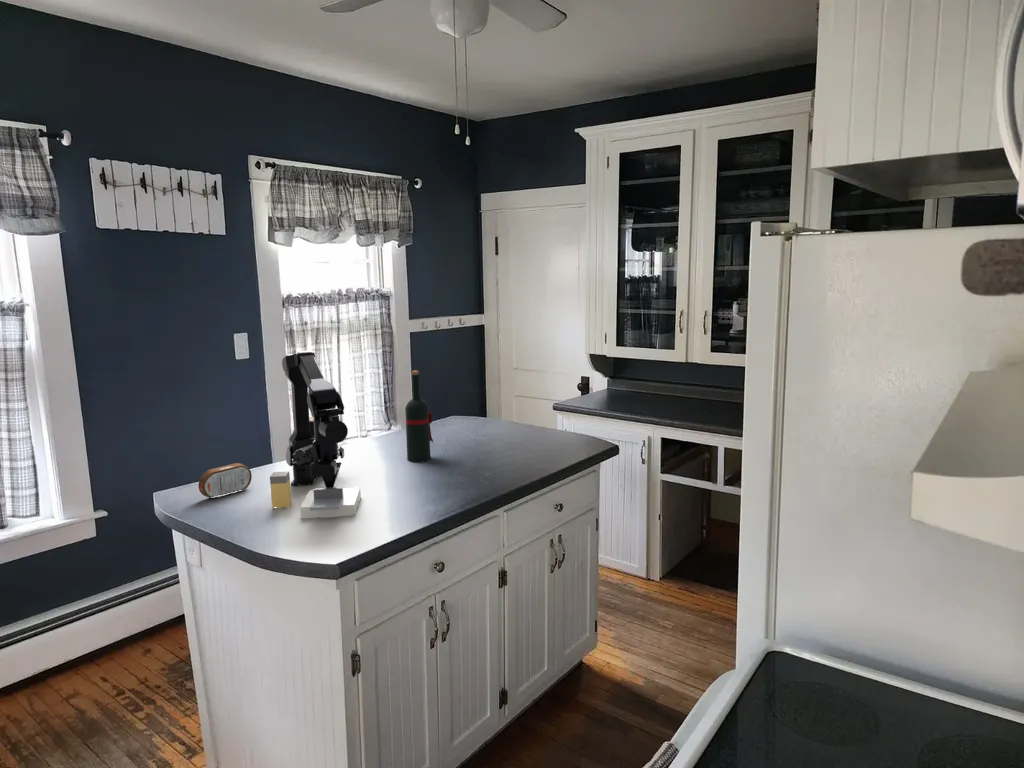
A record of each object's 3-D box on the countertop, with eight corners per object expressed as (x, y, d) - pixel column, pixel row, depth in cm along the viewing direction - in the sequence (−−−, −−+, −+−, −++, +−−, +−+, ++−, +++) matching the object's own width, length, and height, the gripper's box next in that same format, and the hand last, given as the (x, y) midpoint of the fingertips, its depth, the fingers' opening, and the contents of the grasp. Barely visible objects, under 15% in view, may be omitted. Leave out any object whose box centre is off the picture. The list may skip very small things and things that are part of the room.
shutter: (315, 500, 179) (314, 488, 178) (343, 499, 180) (342, 486, 179) (309, 510, 172) (308, 497, 171) (339, 509, 173) (338, 496, 172)
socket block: (310, 500, 189) (309, 490, 189) (360, 497, 190) (360, 487, 190) (300, 518, 176) (299, 507, 175) (354, 515, 177) (354, 504, 176)
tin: (248, 486, 202) (246, 459, 201) (254, 488, 200) (252, 461, 199) (199, 500, 191) (196, 472, 189) (204, 503, 189) (201, 474, 187)
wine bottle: (440, 456, 230) (437, 369, 224) (417, 463, 222) (413, 373, 217) (425, 452, 235) (421, 367, 229) (402, 459, 227) (398, 371, 222)
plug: (276, 503, 187) (273, 472, 186) (291, 502, 188) (289, 471, 186) (272, 508, 183) (269, 476, 182) (288, 507, 184) (285, 476, 182)
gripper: (301, 428, 186) (305, 482, 189) (286, 445, 168) (291, 505, 170) (342, 426, 187) (346, 480, 190) (332, 443, 169) (336, 503, 171)
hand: (329, 491), depth 180 cm, fingers closed
